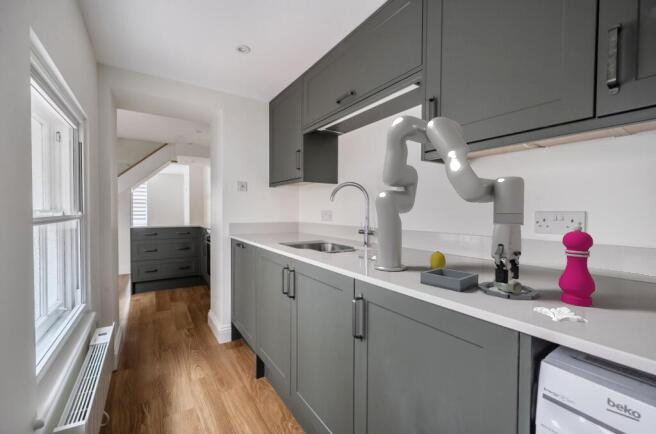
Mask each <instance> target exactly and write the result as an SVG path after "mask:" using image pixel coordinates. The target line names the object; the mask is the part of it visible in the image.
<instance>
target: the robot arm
mask: <svg viewBox="0 0 656 434" xmlns="http://www.w3.org/2000/svg"><path fill="white" fill-rule="evenodd" d="M463 131H464V130H463V127H462V125H461V124H460V123H459V122H457V121H455V120H453V119H450V118H448V117H445V116H436V117H433V118H432V119H430V120H429V121H428V120H426V119H425V120H424V119H422V118H419V117H416V116H413V115H401V116H399V117H397V118H395V119H394V120H393V121H392V122H391V124H390V126H389V127H388V129H387V133H386V146H385V148H386V149H385V155H384V162H383V170H382V182H383V183H384V185H385V186H388V187H391V188H396V189H386V190H382V191H381V192H379V193H378V194H377V195H376V197H375V199H374V200H375V201H374V202H375V203H374V205H375V210H376V215H377V216H376V217H377V219H376V220H377V255H373V256H372V257H371V261H374V262H375V263H374V264H373V269H375V270H378V271H383V272H385V271H386V272H399V271H404V270H405V269H406V268H407V267H406V265H405V264H403V263H402V259H403V258H402V257H403V256H402V253H403V252H402V251H403V248H402V244H403V243H402V242H403V238H402V236H403V234H402V233H403V227H402V226H403V225H402V224H403V223H402V220H401V217H400V215H402V214H407V213H409V212H410V211H412V209H413V207H414V206H415V201H416V195H417V188H418V182H419V175H418V171H417V169H416V168H415V167H414V166H413V165H411V164H407V161H408V155H409V150H408V144H407V141H410V142H415V143H417V144H418V143H419V144H424V145H432V146H433V147H434V149H435V150H436V151H437V153H438V154H439V156H440V158H441V159H442V160H443V163H444V168H445V173H446V177H447V179H448V181H449V182H450V184H451V186H452V187H453V189H454V190H455V192H456V194H458V196H459V197H460V198H461V199H462V200H463V201H466V202H468V203H478V204H487V203H493V204H492V205H493V206H492V207H493V211H492V213H493V214H492V216H493V217H492V225H493V229H492V237H491V249H490V251H491V252H490V256H491V258H492V259H493V260H494V268H495V271H494V278H495V282H498V283H504V284H508V269H507V266H508V262H509V263H511V268H510V270H511V272H513V277H512V279H513V280H519V278H520V257H521V255H522V254H521V255H518V256H514V252H517V251H521V252H522V229H521V227H522V226H524V225H525V224H524V221H525V220H524V219H525V213H524V212H525V180H524V178H523V177H521V176H517V175H516V176H513V175H512V176H500V177H497V178H496V179H490V178H485V177H483V178H482V177H479V176H478V175H477V173H476V172H475V171H474V170H473V167H472V166H471V164H470V163H469V161H468V157H467V156H468V155H469V153H470V147H469V145H468V144H467V143H466V141H465V140H464V138H463ZM501 257H505V258H501Z"/></svg>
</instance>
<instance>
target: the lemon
mask: <svg viewBox="0 0 656 434" xmlns="http://www.w3.org/2000/svg"><path fill="white" fill-rule="evenodd" d="M429 259H430V261H429V263H430V266H431V268H432V270H433V269H437V268H445V267H446V261H447V260H446V257H445V255H444V254H443V252H440V251H439V250H438V251H437V250H436V251H435V252H433V253H432V254H431V256H430V258H429Z"/></svg>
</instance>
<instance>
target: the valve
mask: <svg viewBox="0 0 656 434" xmlns="http://www.w3.org/2000/svg"><path fill="white" fill-rule="evenodd" d="M518 255H522V250H521V251H517V252H514V256H518ZM501 258H505V257H501ZM510 268H511V263H509V262H508V266H507V269H508V284H504V283H498V282H495V277H494V278H493V281H492V282H493V285H494V286H493V287H495V288H497V289H499V290H501V291H502V292H504V293H510V294H520V293H521V292H522V291H523V290H522V285H523V284H522V283H521V282H519V281H518V280H517V279H512V277H513V272H511V270H510Z"/></svg>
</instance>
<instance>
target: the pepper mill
mask: <svg viewBox="0 0 656 434" xmlns="http://www.w3.org/2000/svg"><path fill="white" fill-rule="evenodd" d="M572 227H573V228H572V229H573V230H572V231H568V232H567V233H565V234H564V235H563V237H562V241H561V243H562V245H563V246H564V247H565V248H566V249H564V255H565V256H566V266H565V269H564V271H562V273H561V275H560V277H559V280H558V283H557V284H558V287H559V289H561V290H562V292H561V293H560V301H561V302H563V303H565V304H568V305H571V306H572V305H573V306H579V307H592V306H593V299H594V298H593V297H592V296H591V295H592V294H593V293H595V291H596V283H595V280H594V279H593V277H592V275H591V273H590V269H589V267H588V260H589V258H590V257H591V251H590V248H592V247H593V246H594V239H593V236H591V234H589V233H588V232H585V231H583V226H582V225H580V224H576V225H574V226H572Z"/></svg>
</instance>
